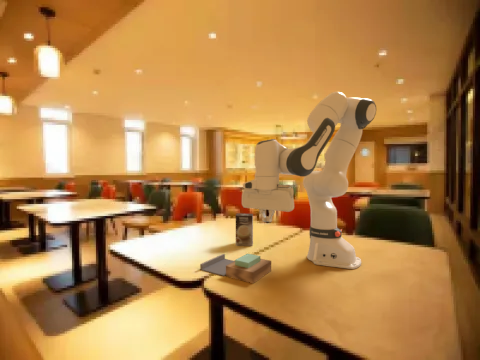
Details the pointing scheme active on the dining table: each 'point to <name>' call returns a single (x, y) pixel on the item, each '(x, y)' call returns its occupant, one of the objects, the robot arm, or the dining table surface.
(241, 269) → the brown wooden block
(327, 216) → the robot arm
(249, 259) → the pale green rectangular block
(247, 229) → the coffee box
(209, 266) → the tray
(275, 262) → the dining table surface
